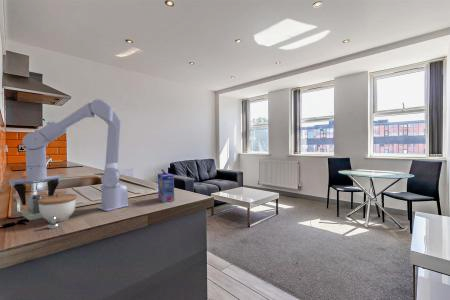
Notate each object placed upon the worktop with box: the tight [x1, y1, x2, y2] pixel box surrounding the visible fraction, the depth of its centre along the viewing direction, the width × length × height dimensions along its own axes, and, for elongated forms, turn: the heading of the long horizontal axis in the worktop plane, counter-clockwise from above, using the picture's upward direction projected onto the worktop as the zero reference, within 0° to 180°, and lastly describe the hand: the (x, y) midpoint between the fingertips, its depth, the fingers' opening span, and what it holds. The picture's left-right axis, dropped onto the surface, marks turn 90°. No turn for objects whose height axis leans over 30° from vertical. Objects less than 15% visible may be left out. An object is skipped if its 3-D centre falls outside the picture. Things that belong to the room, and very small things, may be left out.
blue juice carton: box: [157, 169, 175, 203], centre depth 105 cm, size 10×6×14 cm, turn 31°
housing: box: [27, 194, 45, 214], centre depth 82 cm, size 4×8×6 cm, turn 53°
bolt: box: [46, 216, 60, 230], centre depth 70 cm, size 3×3×3 cm
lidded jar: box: [38, 192, 77, 223], centre depth 77 cm, size 11×11×9 cm
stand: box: [21, 209, 43, 221], centre depth 82 cm, size 7×10×2 cm
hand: (37, 202), depth 82 cm, fingers open, 7 cm apart
